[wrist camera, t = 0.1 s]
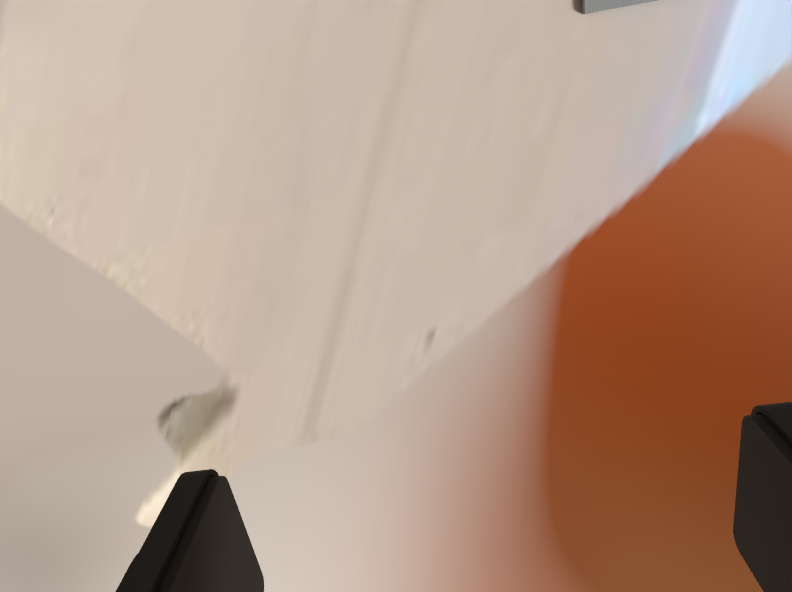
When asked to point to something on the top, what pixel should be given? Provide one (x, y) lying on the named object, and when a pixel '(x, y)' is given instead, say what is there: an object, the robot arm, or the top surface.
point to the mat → (607, 4)
